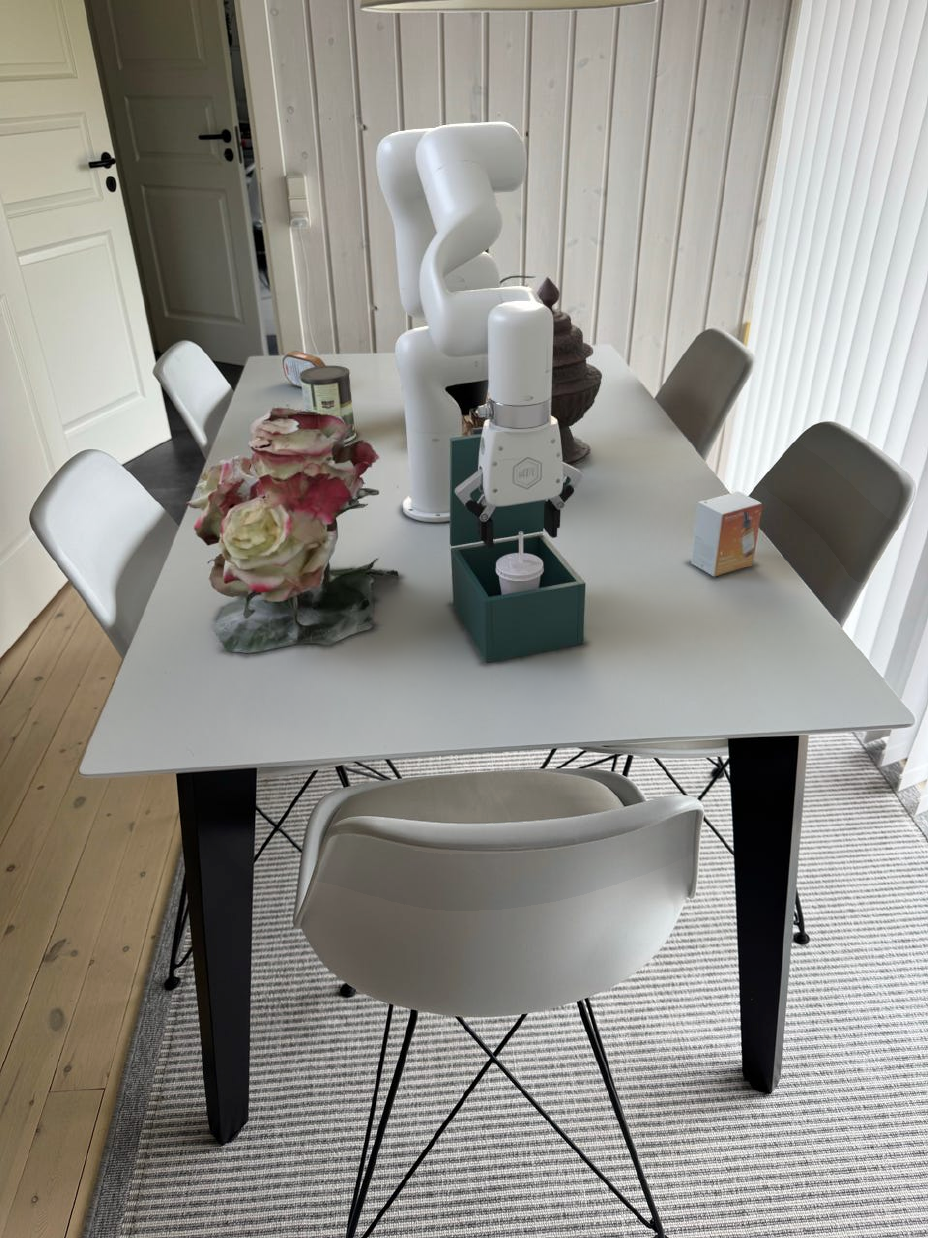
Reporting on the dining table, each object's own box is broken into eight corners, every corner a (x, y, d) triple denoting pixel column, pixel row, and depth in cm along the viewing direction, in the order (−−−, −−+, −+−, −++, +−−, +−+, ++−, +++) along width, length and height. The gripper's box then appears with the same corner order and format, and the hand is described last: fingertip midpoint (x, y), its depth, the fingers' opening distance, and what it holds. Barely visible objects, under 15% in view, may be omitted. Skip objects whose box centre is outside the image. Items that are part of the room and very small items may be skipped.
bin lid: (552, 427, 119) (538, 408, 123) (451, 440, 116) (440, 421, 120) (543, 531, 130) (530, 511, 134) (451, 546, 127) (440, 525, 131)
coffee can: (342, 425, 200) (335, 362, 193) (364, 438, 193) (358, 372, 186) (299, 436, 195) (291, 371, 188) (321, 449, 188) (312, 382, 181)
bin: (583, 643, 122) (585, 583, 117) (486, 663, 119) (484, 601, 114) (541, 589, 135) (542, 532, 130) (453, 605, 132) (450, 547, 127)
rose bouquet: (222, 570, 144) (185, 384, 128) (405, 567, 142) (390, 379, 127) (173, 661, 122) (121, 450, 106) (388, 659, 121) (368, 444, 105)
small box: (713, 578, 136) (721, 514, 131) (689, 563, 141) (696, 501, 135) (754, 565, 139) (763, 502, 134) (729, 551, 144) (737, 489, 138)
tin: (332, 391, 222) (328, 357, 217) (322, 395, 220) (318, 360, 215) (292, 381, 230) (288, 347, 226) (283, 384, 228) (278, 350, 224)
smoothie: (549, 618, 126) (551, 527, 119) (533, 641, 121) (533, 548, 114) (507, 609, 129) (506, 520, 121) (489, 632, 124) (486, 540, 117)
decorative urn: (594, 431, 189) (594, 257, 169) (609, 475, 173) (611, 287, 153) (497, 439, 190) (486, 267, 170) (503, 484, 173) (491, 298, 153)
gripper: (459, 430, 104) (463, 562, 114) (599, 411, 108) (591, 540, 118) (442, 409, 110) (447, 536, 120) (574, 392, 114) (569, 516, 124)
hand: (518, 538), depth 119 cm, fingers open, 8 cm apart
